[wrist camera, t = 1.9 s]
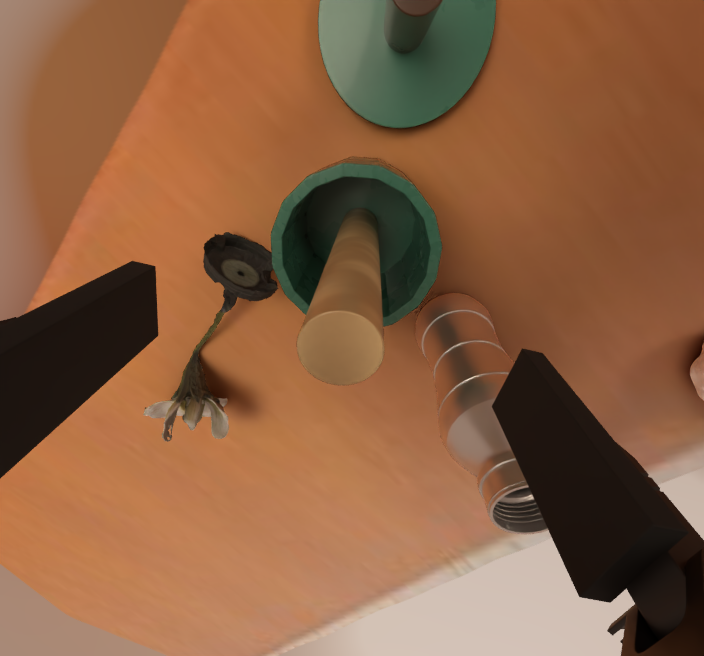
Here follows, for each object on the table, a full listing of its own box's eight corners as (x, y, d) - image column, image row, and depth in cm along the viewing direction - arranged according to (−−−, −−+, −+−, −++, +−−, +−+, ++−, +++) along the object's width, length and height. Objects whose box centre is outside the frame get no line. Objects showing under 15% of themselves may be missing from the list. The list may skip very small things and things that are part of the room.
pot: (431, 162, 27) (456, 171, 19) (412, 286, 32) (425, 337, 24) (299, 152, 28) (266, 157, 19) (299, 277, 33) (274, 324, 24)
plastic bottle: (401, 303, 33) (433, 487, 16) (470, 273, 31) (595, 440, 14) (427, 355, 36) (480, 564, 18) (492, 330, 34) (622, 533, 16)
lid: (511, -83, 21) (597, -223, 13) (469, 133, 26) (511, 130, 18) (322, -95, 21) (290, -240, 13) (318, 123, 27) (294, 114, 19)
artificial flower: (308, 265, 33) (311, 338, 26) (220, 396, 45) (204, 472, 37) (215, 218, 29) (186, 289, 22) (144, 375, 41) (110, 456, 33)
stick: (379, 208, 29) (389, 314, 11) (375, 245, 30) (379, 389, 13) (343, 206, 29) (295, 306, 11) (341, 242, 30) (296, 382, 13)
